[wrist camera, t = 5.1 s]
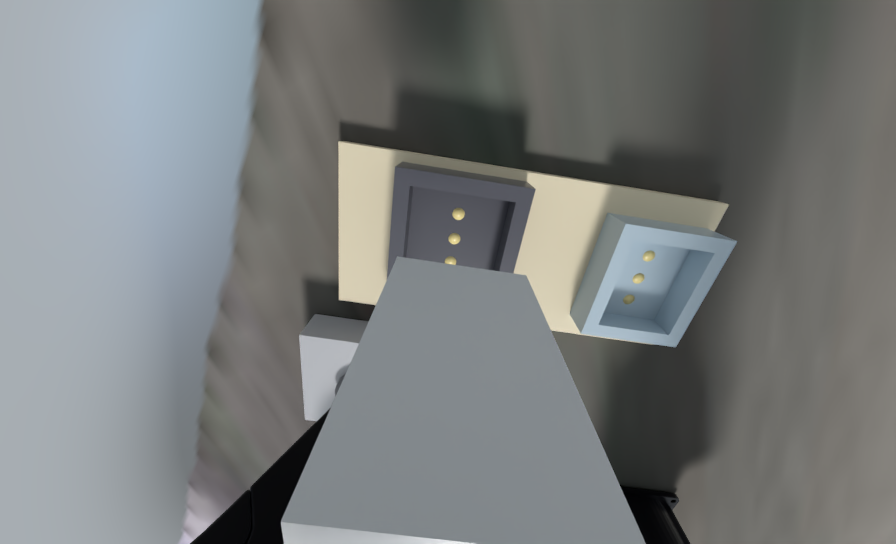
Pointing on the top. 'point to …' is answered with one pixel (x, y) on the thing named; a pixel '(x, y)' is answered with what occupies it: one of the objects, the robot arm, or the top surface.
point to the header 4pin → (457, 217)
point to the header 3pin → (647, 279)
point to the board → (545, 237)
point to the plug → (458, 427)
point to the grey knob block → (326, 359)
